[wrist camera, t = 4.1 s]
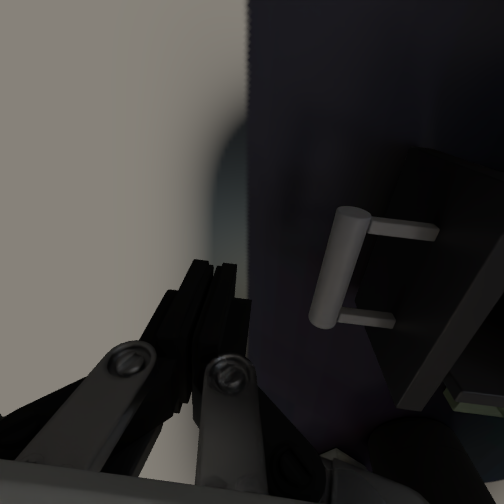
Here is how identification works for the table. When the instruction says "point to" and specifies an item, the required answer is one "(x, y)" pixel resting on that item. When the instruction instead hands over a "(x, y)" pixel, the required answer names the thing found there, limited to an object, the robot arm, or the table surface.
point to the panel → (473, 407)
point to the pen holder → (427, 461)
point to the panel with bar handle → (426, 281)
